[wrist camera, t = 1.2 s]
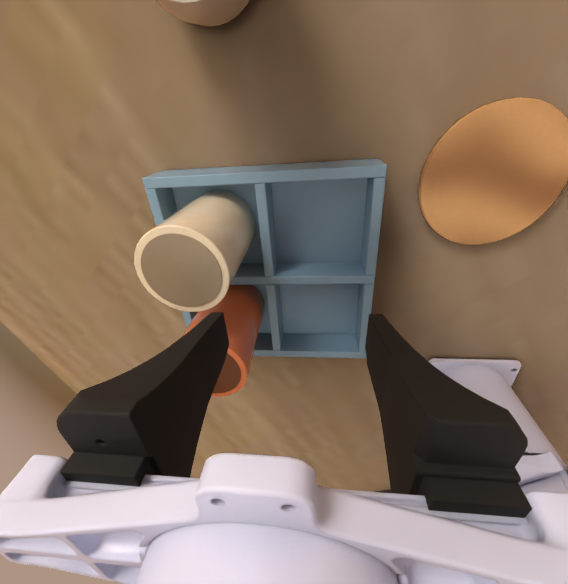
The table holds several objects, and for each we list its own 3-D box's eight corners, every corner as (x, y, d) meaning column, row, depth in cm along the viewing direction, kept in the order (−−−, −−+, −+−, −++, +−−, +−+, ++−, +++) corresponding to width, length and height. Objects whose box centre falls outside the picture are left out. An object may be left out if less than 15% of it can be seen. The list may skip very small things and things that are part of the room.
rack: (361, 336, 27) (366, 358, 25) (204, 334, 29) (194, 355, 27) (378, 158, 19) (387, 164, 17) (161, 170, 21) (141, 177, 19)
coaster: (537, 240, 21) (542, 243, 21) (408, 243, 22) (410, 246, 22) (597, 91, 17) (605, 91, 16) (431, 104, 18) (434, 103, 17)
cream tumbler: (259, 255, 23) (236, 313, 17) (197, 256, 24) (150, 312, 17) (251, 187, 21) (219, 224, 14) (182, 191, 21) (118, 227, 15)
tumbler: (268, 327, 27) (251, 398, 20) (214, 326, 28) (180, 396, 21) (262, 277, 25) (241, 341, 18) (202, 278, 25) (160, 340, 18)
